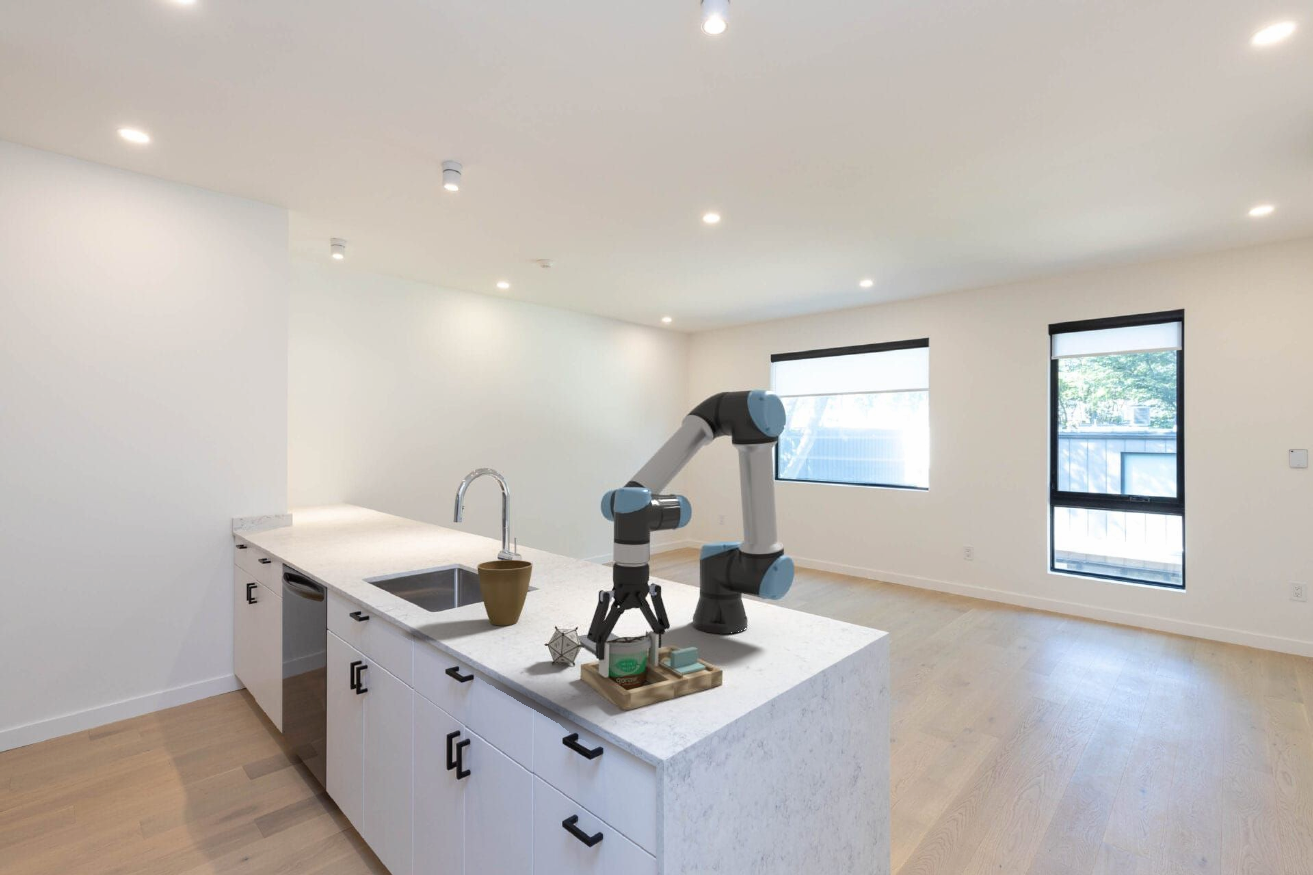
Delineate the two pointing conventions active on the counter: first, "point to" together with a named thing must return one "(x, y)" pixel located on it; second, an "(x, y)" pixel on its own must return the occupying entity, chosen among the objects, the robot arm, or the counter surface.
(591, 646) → the mat
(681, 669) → the cover
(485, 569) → the plant pot
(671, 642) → the counter surface
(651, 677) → the wooden compartment tray
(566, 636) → the game die
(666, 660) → the ball
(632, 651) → the food container
